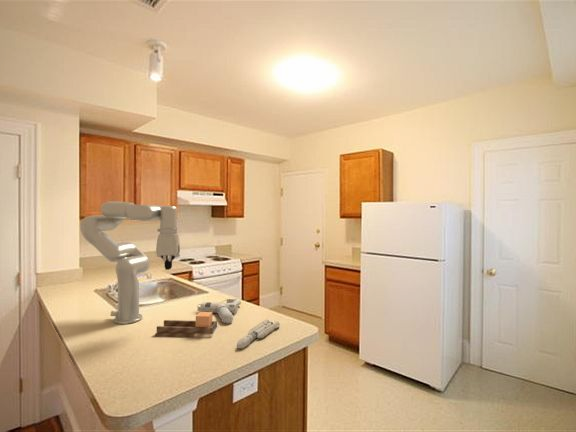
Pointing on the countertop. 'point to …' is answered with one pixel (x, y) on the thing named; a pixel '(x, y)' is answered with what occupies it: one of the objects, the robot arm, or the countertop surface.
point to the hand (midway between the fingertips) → (168, 269)
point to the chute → (185, 329)
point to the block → (204, 319)
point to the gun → (222, 309)
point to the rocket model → (257, 332)
